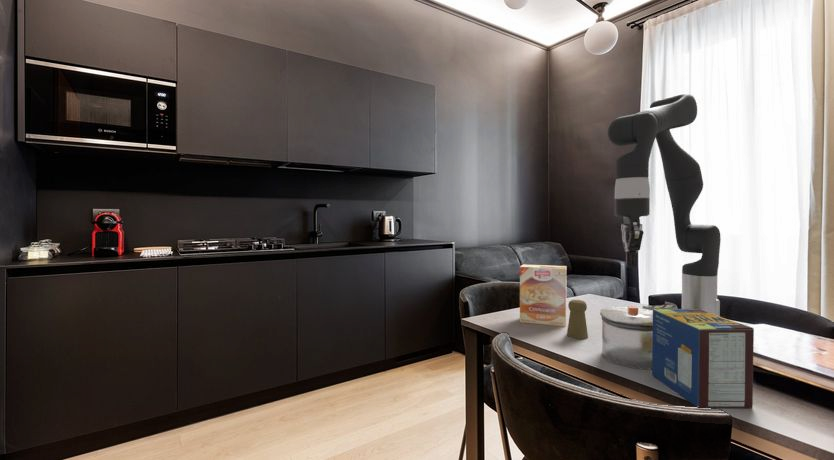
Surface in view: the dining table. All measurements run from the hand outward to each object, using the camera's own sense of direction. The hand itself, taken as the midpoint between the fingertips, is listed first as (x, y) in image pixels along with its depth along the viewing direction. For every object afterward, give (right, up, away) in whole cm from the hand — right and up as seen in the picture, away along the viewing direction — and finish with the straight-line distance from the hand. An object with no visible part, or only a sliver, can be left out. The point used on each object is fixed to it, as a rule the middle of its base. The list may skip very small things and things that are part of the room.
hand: (631, 266), depth 95 cm
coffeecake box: (-10, -23, +37) cm, 45 cm away
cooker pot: (+2, -24, +4) cm, 24 cm away
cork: (-4, -23, +22) cm, 32 cm away
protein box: (+6, -25, -15) cm, 29 cm away
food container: (+20, -23, +18) cm, 35 cm away
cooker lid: (+2, -13, +3) cm, 14 cm away
